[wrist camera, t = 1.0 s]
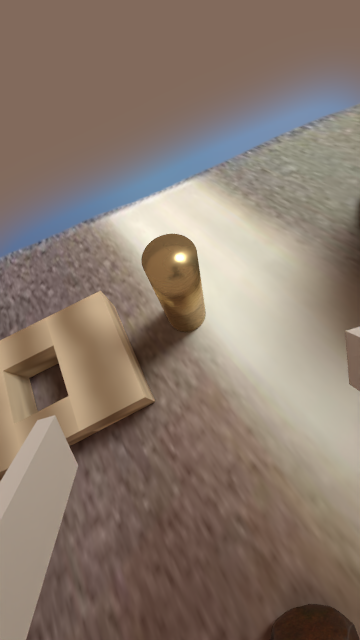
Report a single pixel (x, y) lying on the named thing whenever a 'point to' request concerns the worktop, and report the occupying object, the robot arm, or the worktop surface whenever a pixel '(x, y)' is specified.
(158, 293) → the brass cylinder
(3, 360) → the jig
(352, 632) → the bolt
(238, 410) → the worktop surface
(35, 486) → the robot arm
